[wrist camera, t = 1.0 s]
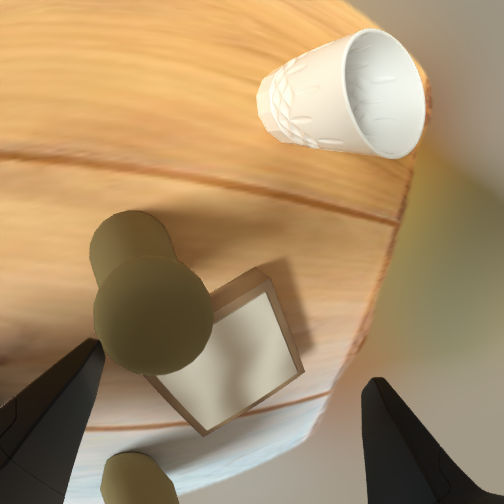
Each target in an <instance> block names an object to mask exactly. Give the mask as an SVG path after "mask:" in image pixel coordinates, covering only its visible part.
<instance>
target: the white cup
mask: <svg viewBox="0 0 504 504" xmlns="http://www.w3.org/2000/svg"><path fill="white" fill-rule="evenodd" d="M256 99H257V110H258V116H259V118H260V119H261V121H262V123H263V125H264V127H265V129H266V131H267V132H268V133H270V134H271V135H272V136H273V137H275V138H276V139H277V140H278V141H280V142H281V143H286V144H291V145H296V146H307V147H309V148H315V149H322V150H329V151H337V152H346V153H355V154H362V155H369V156H376V157H382V158H388V159H399V158H402V157H404V156H406V155H407V154H409V153H410V152H411V151H412V150H413V149H414V148H415V146H416V145H417V143H418V141H419V139H420V137H421V134H422V131H423V127H424V121H425V96H424V90H423V85H422V81H421V78H420V75H419V72H418V70H417V68H416V65H415V63H414V62H413V60H412V58H411V56H410V55H409V53H408V52H407V51H406V49H405V48H404V47H403V46H402V45H401V44H400V42H398V41H397V40H396V39H395V38H394V37H392V36H391V35H390V34H388V33H386V32H384V31H382V30H378V29H372V28H369V29H363V30H360V31H358V32H355V33H352V34H350V35H347V36H344V37H342V38H339V39H337V40H334V41H332V42H329V43H327V44H324V45H322V46H319V47H317V48H315V49H312V50H310V51H308V52H306V53H304V54H303V55H300V56H298V57H296V58H294V59H292V60H290V61H289V62H287V63H286V64H284V65H282V66H280V67H278V68H276V69H274V70H273V71H272V72H271V73H269V74H268V75H267V76H266V77H265V78H263V79H262V82H261V84H260V87H259V90H258V92H257V95H256Z"/></svg>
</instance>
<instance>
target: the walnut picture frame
mask: <svg viewBox="0 0 504 504" xmlns="http://www.w3.org/2000/svg"><path fill="white" fill-rule="evenodd" d="M210 298H211V303H212V308H213V313H214V321H213V328H212V333H211V336H210V338H209V340H208V342H207V344H206V346H205V348H204V350H203V352H202V353H201V354H200V355H199V356H198V357H197V358H196V359H195V360H194V361H193V362H192V363H191V364H189V365H187V366H186V367H184V368H183V369H181V370H179V371H176V372H173V373H170V374H167V375H157V376H148V375H144V377H145V378H146V379H147V380H148V381H149V382H150V383H151V384H152V386H153V387H154V388H155V389H156V390H157V391H158V392H159V393H160V394H161V395H162V397H163V398H164V399H165V400H166V401H167V402H168V403H169V404H170V405H171V406H172V407H173V408H174V409H175V410H176V411H177V412H178V413H179V414H180V415H181V416H182V417H183V418H184V419H185V420H186V421H187V422H188V423H189V424H190V425H191V426H192V427H193V428H194V429H195V430H196V431H197V432H198V433H199V434H201V435H202V436H203V437H204V436H206V435H208V434H209V433H211V432H213V431H215V430H216V429H218V428H220V427H222V426H223V425H225V424H227V423H228V422H230V421H232V420H234V419H235V418H237V417H238V416H240V415H242V414H243V413H245V412H247V411H248V410H250V409H251V408H253V407H254V406H256V405H258V404H259V403H261V402H262V401H264V400H265V399H267V398H268V397H270V396H271V395H273V394H274V393H276V392H277V391H279V390H280V389H282V388H283V387H285V386H286V385H287V384H289V383H290V382H292V381H293V380H295V379H296V378H297V377H299V376H300V375H302V374H303V373H304V372H305V370H304V368H303V365H302V362H301V360H300V357H299V354H298V351H297V349H296V346H295V343H294V341H293V338H292V335H291V333H290V330H289V327H288V325H287V322H286V319H285V316H284V314H283V311H282V308H281V306H280V303H279V300H278V298H277V295H276V292H275V290H274V287H273V284H272V282H271V279H270V278H269V277H268V276H266V275H265V274H264V273H262V272H261V271H259V270H258V269H256V268H255V267H254V268H252V269H251V270H249V271H247V272H246V273H244V274H242V275H241V276H239V277H237V278H236V279H234V280H232V281H231V282H229V283H227V284H226V285H224V286H222V287H221V288H219V289H217V290H216V291H214V292H212V293H211V294H210Z"/></svg>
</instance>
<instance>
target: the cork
mask: <svg viewBox="0 0 504 504" xmlns="http://www.w3.org/2000/svg"><path fill="white" fill-rule="evenodd" d="M90 262H91V265H92V269H93V272H94V275H95V278H96V281H97V284H98V287H99V290H98V293H97V296H96V299H95V302H94V329H95V331H96V334H97V336H98V339H99V340H100V341H101V343H102V347H103V349H104V351H105V352H106V353H107V354H108V355H109V356H110V357H111V358H112V359H113V360H114V361H115V363H117V364H119V365H121V366H123V367H124V368H126V369H128V370H130V371H132V372H134V373H138V374H143V375H148V376H157V375H167V374H170V373H173V372H176V371H179V370H181V369H183V368H184V367H186V366H187V365H189V364H191V363H192V362H193V361H194V360H195V359H196V358H197V357H198V356H199V355H200V354H201V353H202V352H203V350H204V348H205V346H206V344H207V342H208V340H209V338H210V336H211V333H212V328H213V321H214V313H213V308H212V303H211V298H210V294H209V292H208V291H207V289H206V287H205V286H204V284H203V282H202V281H201V279H200V278H199V277H198V276H197V275H196V274H195V273H194V272H193V271H191V270H190V269H189V268H188V267H187V266H185V265H184V264H183V263H180V262H178V260H177V257H176V254H175V251H174V248H173V245H172V242H171V239H170V236H169V235H168V233H167V231H166V229H165V227H164V226H163V225H162V224H161V223H160V222H159V221H158V220H157V219H156V218H154V217H153V216H151V215H148V214H146V213H144V212H140V211H125V212H121V213H117V214H114V215H113V216H111V217H110V218H108V219H106V220H105V221H103V223H102V224H101V225H100V226H99V228H98V229H97V230H96V231H95V233H94V235H93V238H92V241H91V244H90Z"/></svg>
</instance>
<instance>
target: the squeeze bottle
mask: <svg viewBox="0 0 504 504" xmlns="http://www.w3.org/2000/svg"><path fill="white" fill-rule="evenodd" d="M100 491H101V494H102V497H103V499H104V502H105V504H179V501H178V498H177V495H176V491H175V488H174V484H173V482H172V481H171V480H170V479H169V478H168V476H167V475H166V474H165V473H164V472H163V471H162V470H161V469H160V467H159V466H158V465H157V464H156V463H155V461H154V460H153V459H152V458H151V457H149V456H147V455H144V454H140V453H133V452H132V453H121V454H118V455H115V456H113V457H111V458H110V459H108V460H107V462H106V464H105V467H104V472H103V477H102V482H101V487H100Z"/></svg>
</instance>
